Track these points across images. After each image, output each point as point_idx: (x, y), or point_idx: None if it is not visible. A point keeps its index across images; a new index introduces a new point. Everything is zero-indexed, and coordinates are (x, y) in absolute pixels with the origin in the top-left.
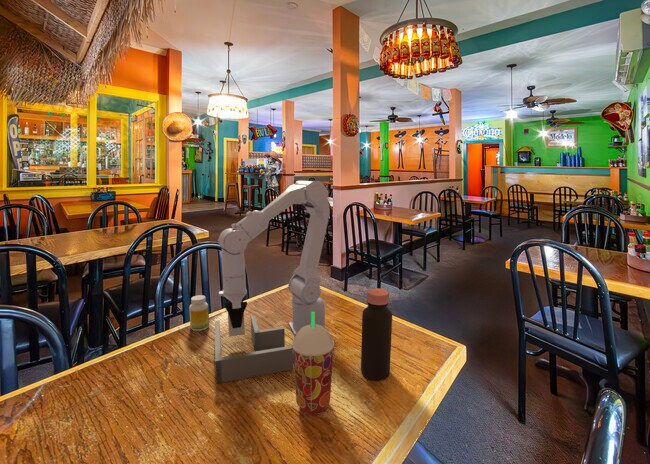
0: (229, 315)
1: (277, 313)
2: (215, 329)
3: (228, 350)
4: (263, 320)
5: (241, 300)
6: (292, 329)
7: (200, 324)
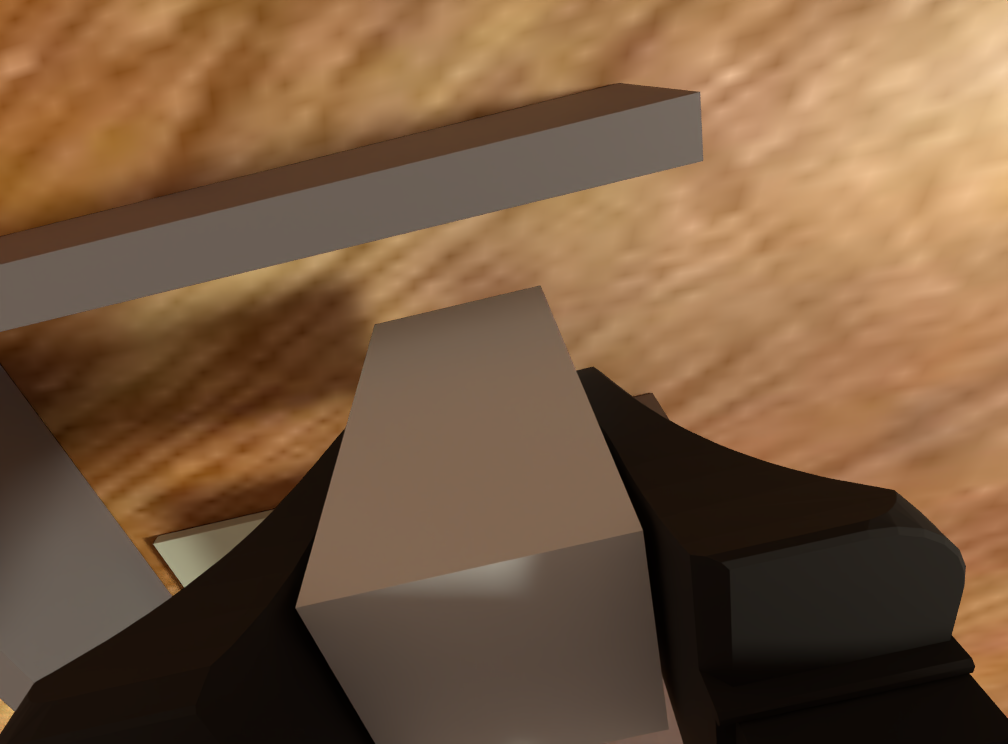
0: (226, 555)
1: (944, 522)
2: (412, 171)
3: (393, 257)
4: (866, 445)
5: (667, 719)
6: None
7: None
